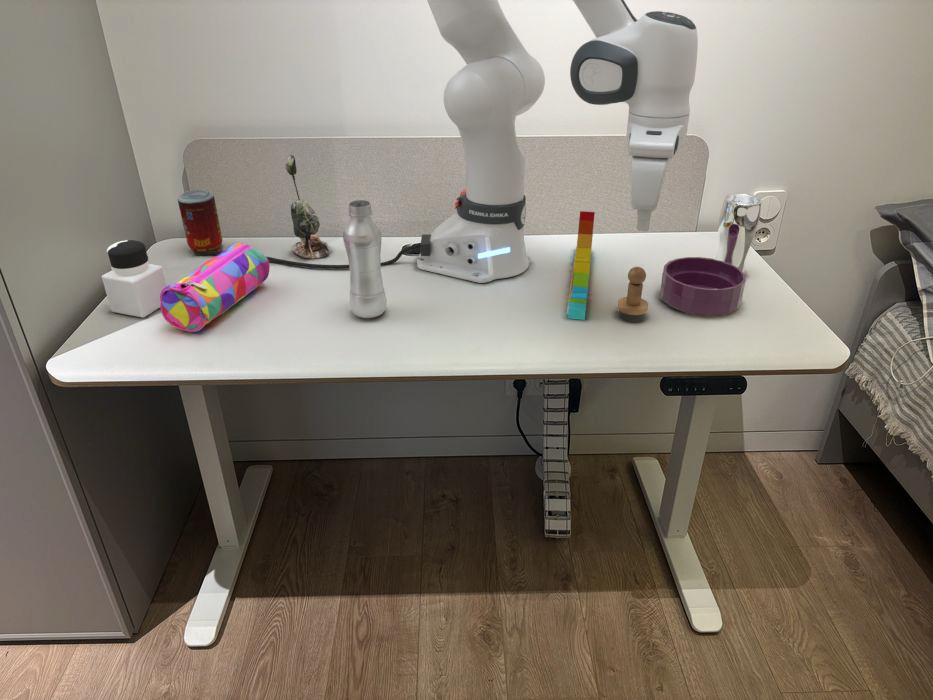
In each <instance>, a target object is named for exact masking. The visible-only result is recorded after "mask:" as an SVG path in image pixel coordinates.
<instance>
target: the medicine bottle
mask: <svg viewBox="0 0 933 700" xmlns="http://www.w3.org/2000/svg"><path fill="white" fill-rule="evenodd" d="M106 255H107V258H108V261H109V265H110V269H111V270H110V271H108V272H106V273H104V274H102V275H101V280H102V283H103V286H104V290H105V291H104V292H105V294H106V297H107V301H108V304H109V307H110V310H111V312H112V313H115V314H121V315H127V316H130V317H137V318H141V319H144V318H146V317H147V316H149V315H151V314H152V313H154V312H155V311H157V310H159V309H161V307H160V295H161V292H162V290H163V289H164V288H165V287H167V286H168V285H167V282H166V276H165V274H164V269H163V266H162V265H159V264H154V263H150V259H149V255H148V252H147V248H146V244H145V243H143V242H142V241H140V240H135V239H125V240H121V241H117V242H114V243H113V244H111V245H109V246H108V247H107V249H106Z"/></svg>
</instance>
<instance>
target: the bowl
mask: <svg viewBox="0 0 933 700" xmlns="http://www.w3.org/2000/svg"><path fill="white" fill-rule="evenodd" d="M746 282H747V275H746V274H744V273H743V271H742V270H740V269H739V268H737V267H736V266H734V265H732V264H729V263H726V262H724V261H720V260H716V259H715V258H710V257H702V256H686V257H685V256H684V257H678V258H674V259H672V260H669V261H668V262H666V263H665V264H664V265H663V270H662V276H661V281H660V290H659V296H660V298H661V300H662V301H663V302H664V303H665V304H667V305H669V307H672V308H674V309H676V310H678V311H679V312H683V313H686V314H690V315H696V316H702V317H705V316H706V317H712V316H723V315H727V314H731V313H733V312H735V311H737V310H738V309H739V307H740V306H741V303H742V300H743V295H744V290H745V287H746Z"/></svg>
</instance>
